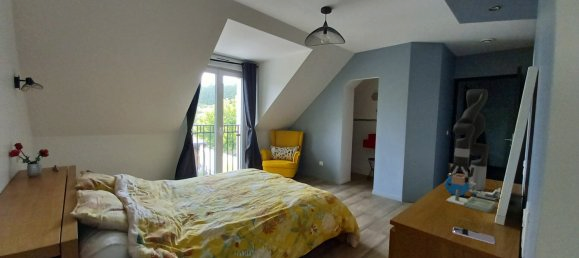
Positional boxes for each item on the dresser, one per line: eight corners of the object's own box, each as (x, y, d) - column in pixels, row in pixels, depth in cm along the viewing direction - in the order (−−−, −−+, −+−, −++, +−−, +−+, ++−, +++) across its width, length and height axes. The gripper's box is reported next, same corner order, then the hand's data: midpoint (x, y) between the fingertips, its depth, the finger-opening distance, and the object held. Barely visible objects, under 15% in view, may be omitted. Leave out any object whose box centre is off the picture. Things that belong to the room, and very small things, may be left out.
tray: (471, 200, 152) (471, 196, 152) (494, 206, 143) (495, 202, 143) (464, 206, 142) (464, 202, 142) (489, 213, 133) (489, 208, 133)
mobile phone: (495, 243, 101) (452, 231, 110) (494, 245, 101) (452, 233, 111) (493, 235, 107) (453, 225, 116) (493, 238, 107) (453, 227, 117)
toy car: (466, 181, 160) (468, 178, 168) (465, 196, 161) (467, 191, 169) (502, 188, 148) (502, 184, 156) (501, 203, 149) (501, 198, 157)
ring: (457, 179, 156) (457, 172, 156) (468, 181, 152) (468, 175, 151) (451, 182, 149) (452, 175, 149) (462, 185, 145) (463, 178, 144)
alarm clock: (469, 196, 159) (470, 174, 158) (467, 198, 155) (469, 176, 153) (446, 191, 168) (447, 170, 167) (443, 193, 164) (445, 171, 163)
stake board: (452, 196, 158) (453, 185, 158) (469, 200, 151) (470, 189, 151) (446, 200, 150) (446, 189, 149) (463, 205, 143) (464, 194, 142)
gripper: (477, 156, 145) (475, 183, 147) (450, 152, 156) (448, 177, 158) (474, 158, 141) (472, 185, 142) (446, 154, 152) (444, 180, 153)
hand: (459, 181), depth 150 cm, fingers closed on ring, 6 cm apart
